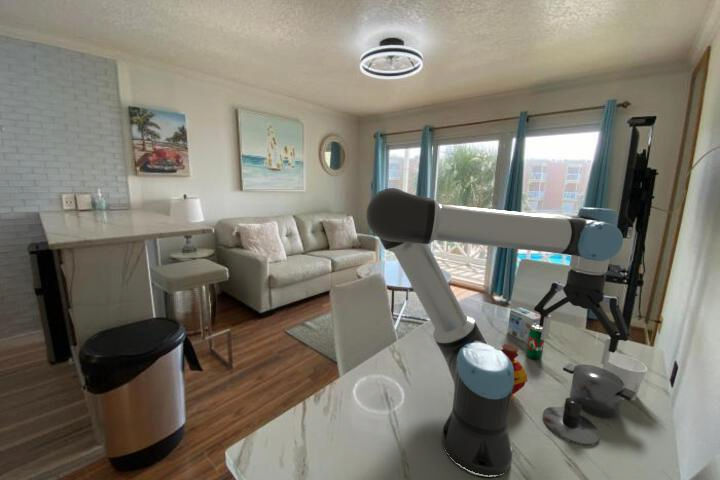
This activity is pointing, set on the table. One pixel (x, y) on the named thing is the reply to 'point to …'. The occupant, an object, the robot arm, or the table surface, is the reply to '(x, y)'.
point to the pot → (597, 390)
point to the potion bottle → (515, 368)
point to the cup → (626, 371)
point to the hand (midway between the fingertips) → (572, 349)
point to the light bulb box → (521, 322)
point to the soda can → (535, 342)
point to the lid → (571, 423)
